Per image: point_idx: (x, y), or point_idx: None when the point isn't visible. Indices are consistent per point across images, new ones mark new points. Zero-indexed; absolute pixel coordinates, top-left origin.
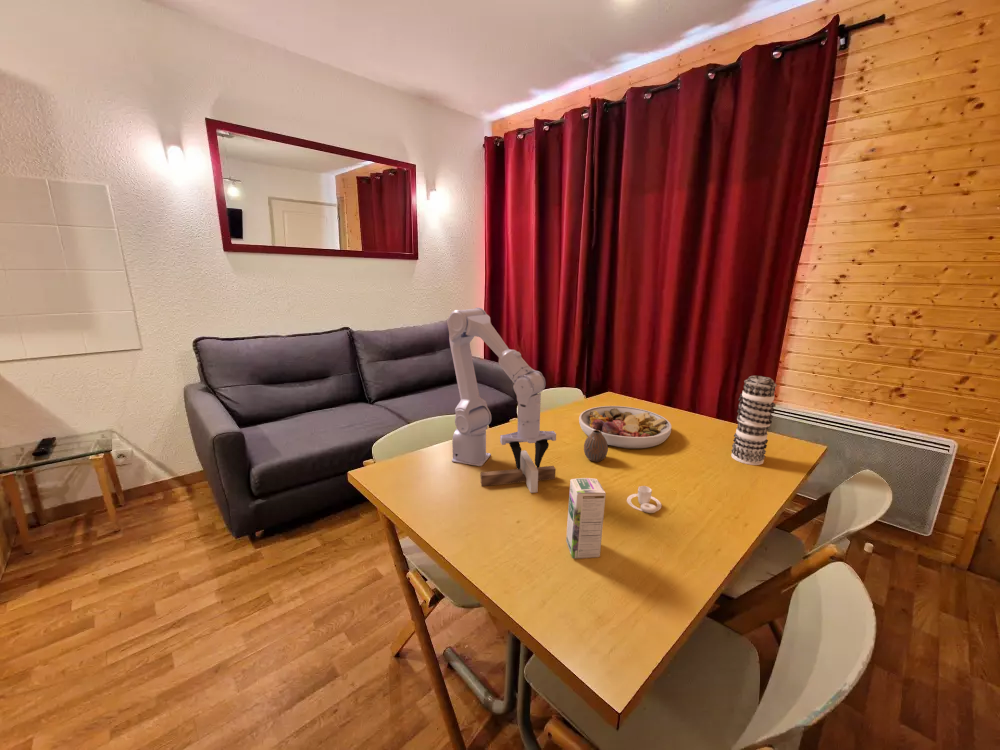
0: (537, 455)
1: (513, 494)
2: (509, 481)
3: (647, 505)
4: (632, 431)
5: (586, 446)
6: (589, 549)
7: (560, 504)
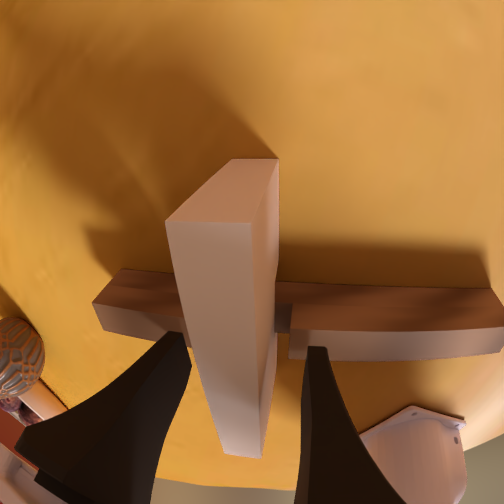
0: (150, 408)
1: (391, 170)
2: (371, 293)
3: None
4: None
5: (19, 369)
6: None
7: (134, 25)
